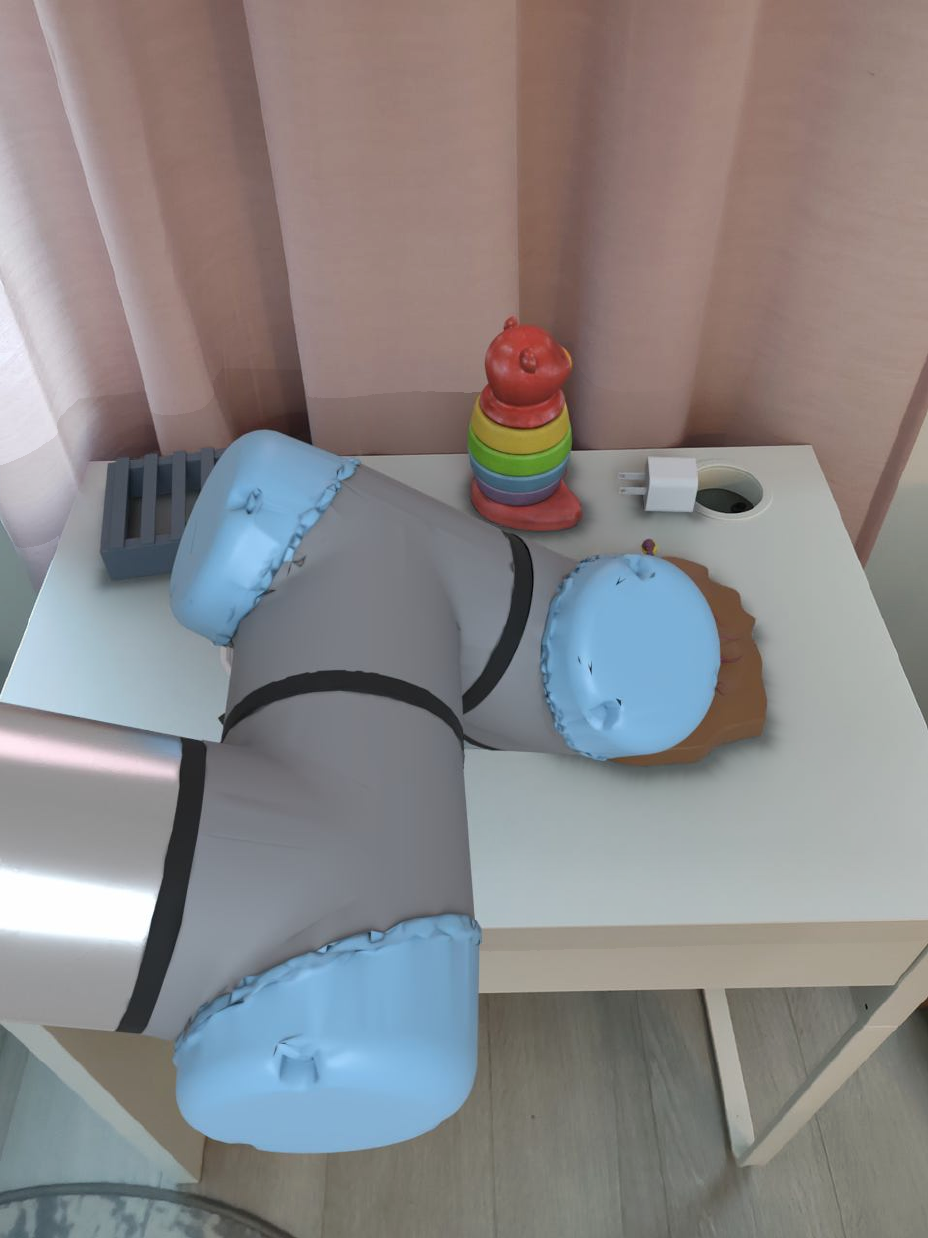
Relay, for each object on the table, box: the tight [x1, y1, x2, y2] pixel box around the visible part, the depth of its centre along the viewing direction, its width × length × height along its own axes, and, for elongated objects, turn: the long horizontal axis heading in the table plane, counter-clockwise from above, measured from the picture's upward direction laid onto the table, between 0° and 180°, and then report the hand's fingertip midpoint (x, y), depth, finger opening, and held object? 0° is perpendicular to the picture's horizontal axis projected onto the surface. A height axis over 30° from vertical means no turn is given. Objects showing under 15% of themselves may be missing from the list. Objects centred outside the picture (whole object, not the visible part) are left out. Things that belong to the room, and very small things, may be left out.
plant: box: [608, 538, 768, 767], centre depth 77 cm, size 20×20×11 cm
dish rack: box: [99, 443, 232, 581], centre depth 91 cm, size 16×12×4 cm
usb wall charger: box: [616, 456, 699, 513], centre depth 92 cm, size 4×7×4 cm, turn 87°
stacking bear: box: [467, 316, 583, 532], centre depth 88 cm, size 11×10×18 cm
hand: (293, 687), depth 68 cm, fingers closed on plastic cup, 9 cm apart
